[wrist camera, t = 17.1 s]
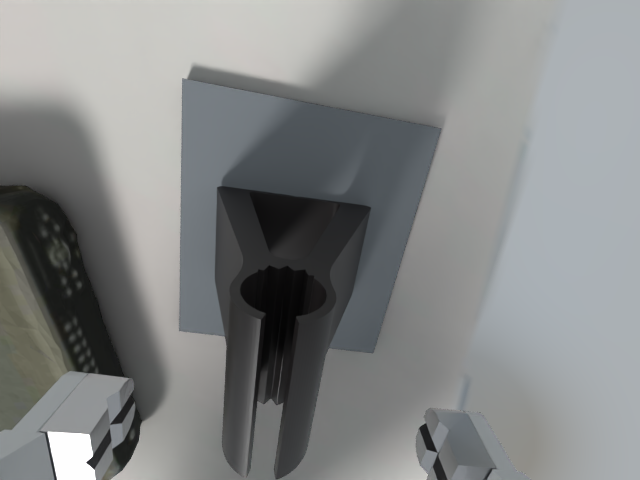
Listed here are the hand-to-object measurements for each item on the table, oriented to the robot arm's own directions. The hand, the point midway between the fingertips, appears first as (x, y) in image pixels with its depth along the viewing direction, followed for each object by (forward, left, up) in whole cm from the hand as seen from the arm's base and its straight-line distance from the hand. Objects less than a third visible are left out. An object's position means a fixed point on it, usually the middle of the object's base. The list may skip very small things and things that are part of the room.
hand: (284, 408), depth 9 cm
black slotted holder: (0, 0, -12) cm, 12 cm away
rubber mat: (0, 0, -13) cm, 13 cm away
